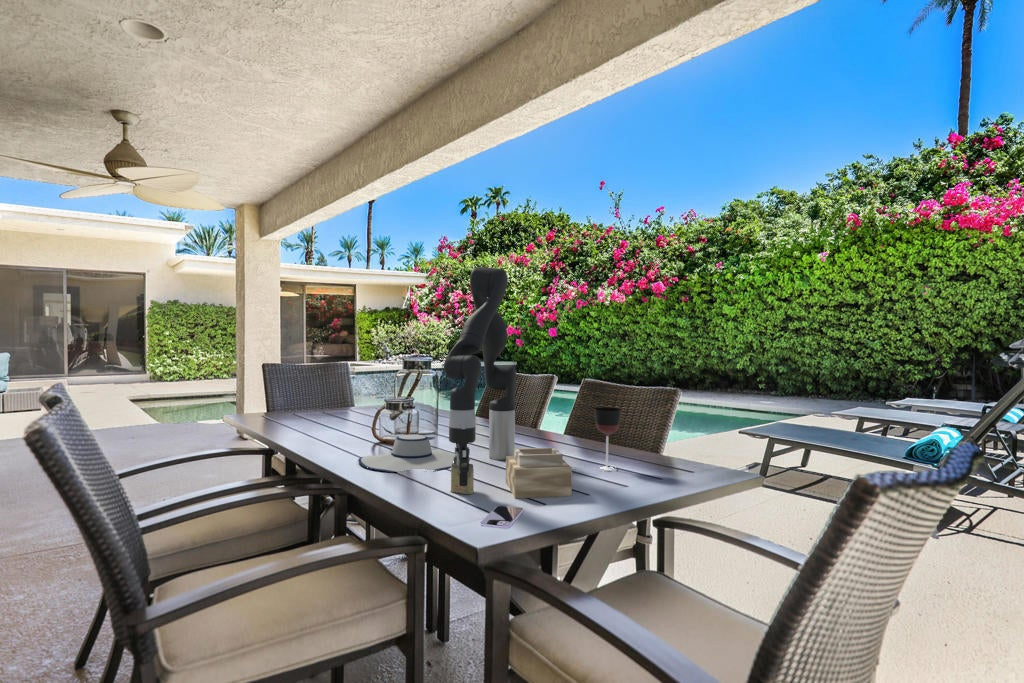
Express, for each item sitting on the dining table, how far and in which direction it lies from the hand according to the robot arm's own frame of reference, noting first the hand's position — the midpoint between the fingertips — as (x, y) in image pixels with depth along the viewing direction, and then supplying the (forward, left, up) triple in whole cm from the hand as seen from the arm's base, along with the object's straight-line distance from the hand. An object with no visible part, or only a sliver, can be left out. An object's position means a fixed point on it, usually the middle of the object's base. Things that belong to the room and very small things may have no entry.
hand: (462, 481), depth 166 cm
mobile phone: (+23, +8, -4) cm, 24 cm away
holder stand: (0, +22, -3) cm, 22 cm away
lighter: (0, 0, -3) cm, 3 cm away
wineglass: (-20, +50, -3) cm, 54 cm away
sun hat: (-42, -14, -4) cm, 45 cm away
